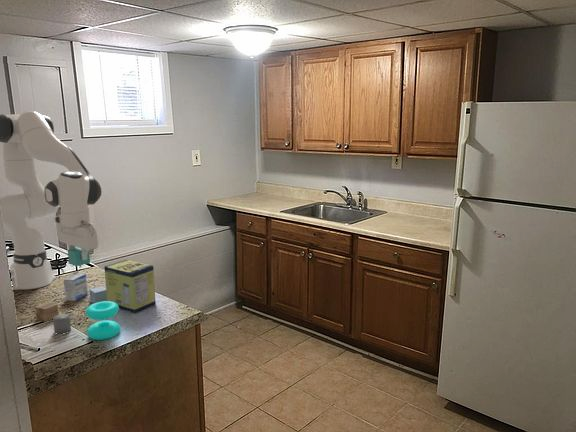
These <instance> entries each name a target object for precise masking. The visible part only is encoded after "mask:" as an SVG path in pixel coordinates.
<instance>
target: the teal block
mask: <svg viewBox="0 0 576 432" xmlns="http://www.w3.org/2000/svg"><path fill="white" fill-rule="evenodd" d="M81 254H82V251H81V248H79V247H75V248H74V249H69V248H68V249H67V258H68V264H69V265H72V266H74V267H80V266H83V265H88V264H91V260H90V259H91V258H90V251H89V252H88V254H87V260H81V259H80V258H81V257H80V255H81Z"/></svg>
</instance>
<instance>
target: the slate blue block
mask: <svg viewBox="0 0 576 432" xmlns="http://www.w3.org/2000/svg"><path fill="white" fill-rule="evenodd" d="M89 299H90V302H91V304H94V303H97V302H103V301H107V293H106V287H105V286H97V287H94V288H89Z"/></svg>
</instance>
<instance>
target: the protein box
mask: <svg viewBox="0 0 576 432" xmlns="http://www.w3.org/2000/svg"><path fill="white" fill-rule="evenodd" d="M104 276H105V277H104V278H105V279H104V280H105V288H106V293H107V301H111V302H114V303H116V304H117V305H118V306H119V310H122V311H125V312H128V313H132V314H137V313H139V312H141V311H143V310H145V309H148V308H150V307H152V306H155V305H156V304H157V302H156V289H155V287H156V286H155V272H154V265H152V264H146V263H141V262H138V261H133V260H130V259H124V260H121V261H119V262H118V261H117V262H115V263H112V264H108V265H104Z"/></svg>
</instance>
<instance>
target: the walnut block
mask: <svg viewBox="0 0 576 432" xmlns="http://www.w3.org/2000/svg"><path fill="white" fill-rule="evenodd" d="M34 309H35V320H36V321H39V322H42V321H44V322H43V323H45V322H46V323H48V322H47V321H49V322H51V321H53V320H52V319H53V318H54V317H55V316H57V315H59V307H58V304H57V303H54V302H49V301H47V302H44V303H41V304H39V305H36V306H34ZM50 320H51V321H50Z"/></svg>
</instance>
